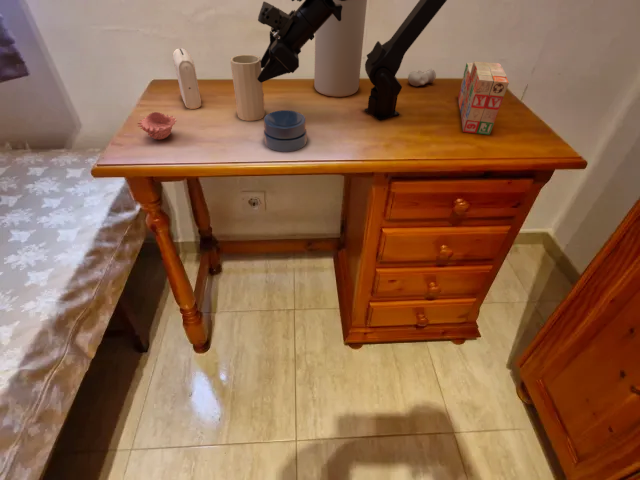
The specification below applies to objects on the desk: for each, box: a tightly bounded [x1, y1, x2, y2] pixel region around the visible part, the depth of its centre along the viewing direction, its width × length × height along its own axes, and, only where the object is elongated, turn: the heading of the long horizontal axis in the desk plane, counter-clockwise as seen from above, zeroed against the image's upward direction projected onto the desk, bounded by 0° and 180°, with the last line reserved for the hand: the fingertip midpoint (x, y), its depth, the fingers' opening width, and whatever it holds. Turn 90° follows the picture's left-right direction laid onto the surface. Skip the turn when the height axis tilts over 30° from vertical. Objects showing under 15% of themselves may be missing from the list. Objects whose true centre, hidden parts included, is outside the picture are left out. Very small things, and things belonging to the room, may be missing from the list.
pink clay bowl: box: [137, 111, 177, 141], centre depth 81 cm, size 8×8×6 cm
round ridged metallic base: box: [263, 109, 308, 153], centre depth 81 cm, size 9×9×5 cm
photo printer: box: [172, 47, 202, 110], centre depth 93 cm, size 10×4×12 cm, turn 23°
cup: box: [230, 54, 266, 122], centre depth 88 cm, size 7×7×13 cm
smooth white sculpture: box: [407, 68, 437, 87], centre depth 109 cm, size 4×8×5 cm
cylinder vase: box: [313, 0, 368, 98], centre depth 98 cm, size 12×12×25 cm
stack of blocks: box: [457, 61, 510, 136], centre depth 92 cm, size 21×6×12 cm, turn 168°
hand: (259, 73), depth 86 cm, fingers open, 9 cm apart
